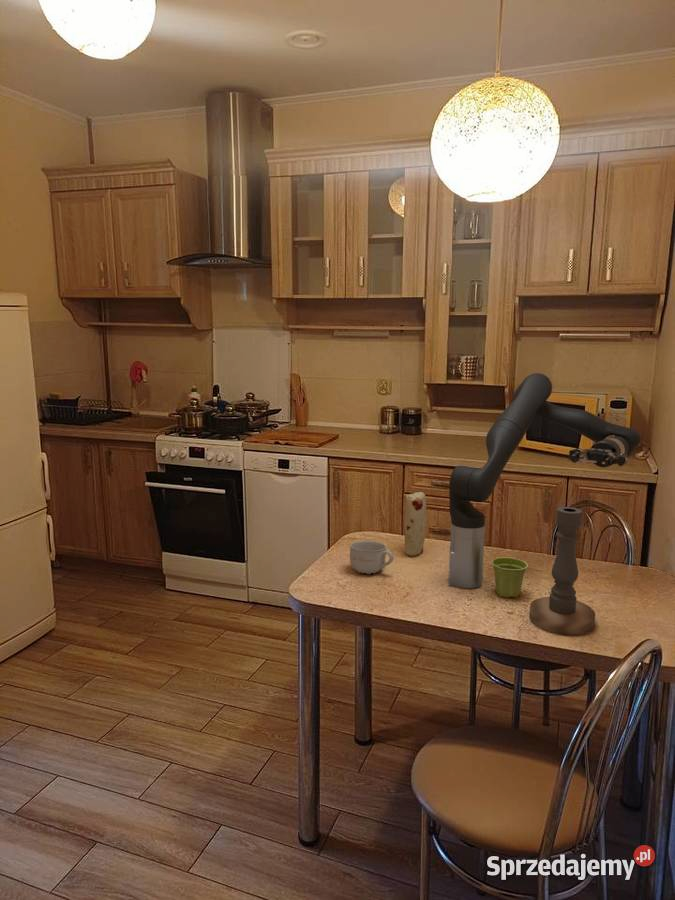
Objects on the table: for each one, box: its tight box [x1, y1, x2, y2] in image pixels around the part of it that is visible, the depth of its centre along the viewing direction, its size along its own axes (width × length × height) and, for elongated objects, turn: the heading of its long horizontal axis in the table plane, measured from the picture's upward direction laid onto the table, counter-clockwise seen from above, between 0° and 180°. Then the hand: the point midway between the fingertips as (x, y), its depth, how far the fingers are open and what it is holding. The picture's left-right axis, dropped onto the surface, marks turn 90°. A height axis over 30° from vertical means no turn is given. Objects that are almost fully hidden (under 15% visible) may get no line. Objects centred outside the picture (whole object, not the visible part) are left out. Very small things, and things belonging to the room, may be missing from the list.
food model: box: [403, 491, 428, 557], centre depth 198 cm, size 10×7×20 cm
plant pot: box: [491, 556, 529, 598], centre depth 168 cm, size 9×9×9 cm
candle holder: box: [549, 506, 583, 615], centre depth 150 cm, size 6×6×25 cm
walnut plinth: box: [528, 596, 596, 636], centre depth 152 cm, size 15×15×3 cm
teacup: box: [349, 540, 394, 575], centre depth 183 cm, size 14×11×8 cm
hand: (589, 460), depth 165 cm, fingers open, 8 cm apart
